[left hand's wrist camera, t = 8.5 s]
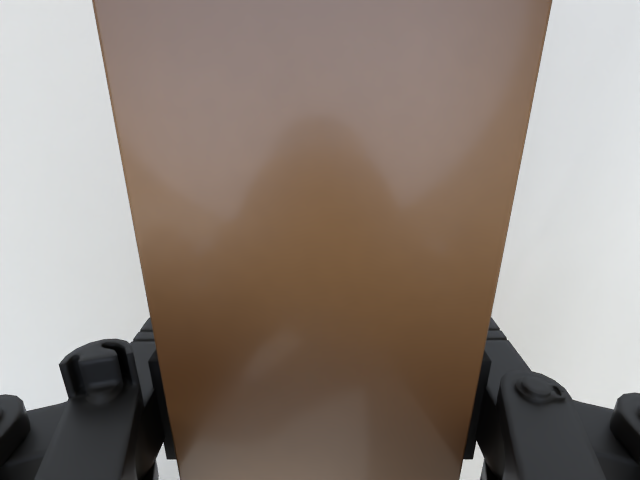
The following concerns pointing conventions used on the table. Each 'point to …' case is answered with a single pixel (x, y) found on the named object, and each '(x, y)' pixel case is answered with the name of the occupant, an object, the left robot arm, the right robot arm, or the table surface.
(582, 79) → the table surface
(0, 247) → the table surface
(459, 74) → the bar
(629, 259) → the table surface
